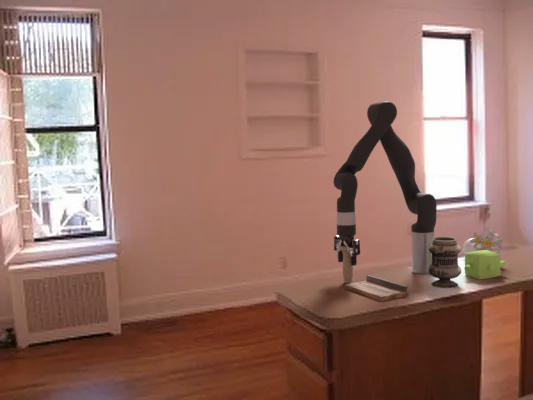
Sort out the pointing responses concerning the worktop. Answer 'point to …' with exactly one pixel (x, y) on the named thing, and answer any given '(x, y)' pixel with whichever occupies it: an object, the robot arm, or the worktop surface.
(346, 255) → the handle
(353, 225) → the robot arm
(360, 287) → the board
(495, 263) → the gearbox
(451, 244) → the apothecary jar
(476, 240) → the flower vase
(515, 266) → the worktop surface
